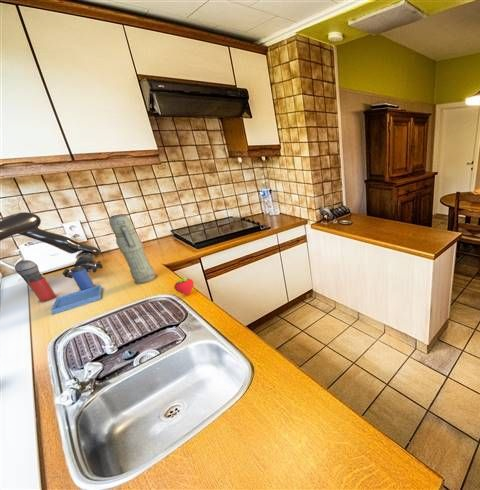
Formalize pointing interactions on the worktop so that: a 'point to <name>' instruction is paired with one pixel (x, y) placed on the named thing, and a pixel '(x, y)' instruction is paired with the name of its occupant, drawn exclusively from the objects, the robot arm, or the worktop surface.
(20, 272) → the beverage cup
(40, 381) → the worktop surface
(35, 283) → the red bottle
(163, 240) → the worktop surface
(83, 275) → the blue bottle
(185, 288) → the strawberry
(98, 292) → the blue tray
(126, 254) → the stone statue
